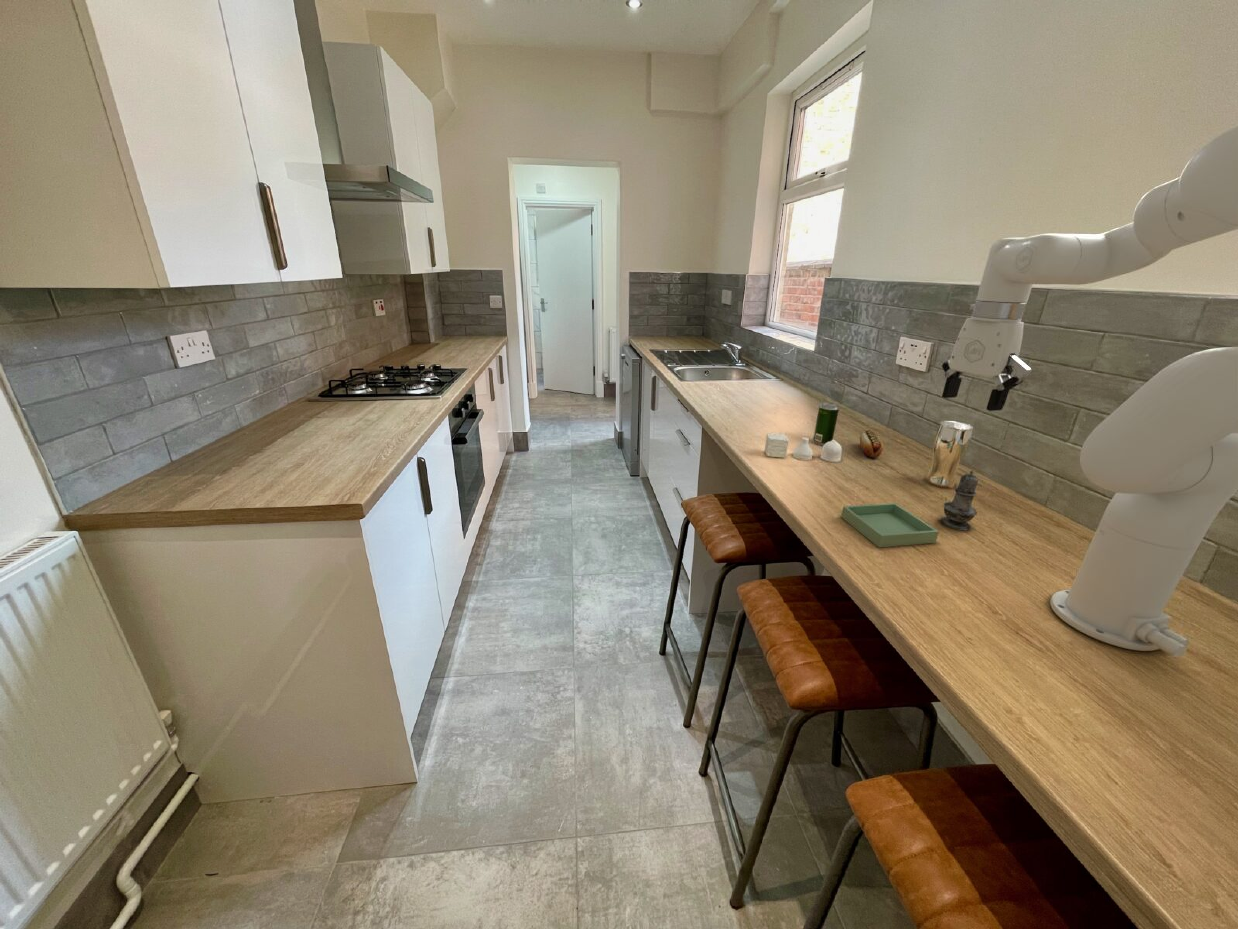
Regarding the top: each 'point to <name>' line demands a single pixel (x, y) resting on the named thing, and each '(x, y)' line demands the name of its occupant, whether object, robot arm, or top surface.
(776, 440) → the container set
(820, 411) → the beer can
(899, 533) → the serving tray
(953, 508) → the salt shaker
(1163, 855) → the top surface
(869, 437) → the hot dog
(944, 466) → the beer glass
